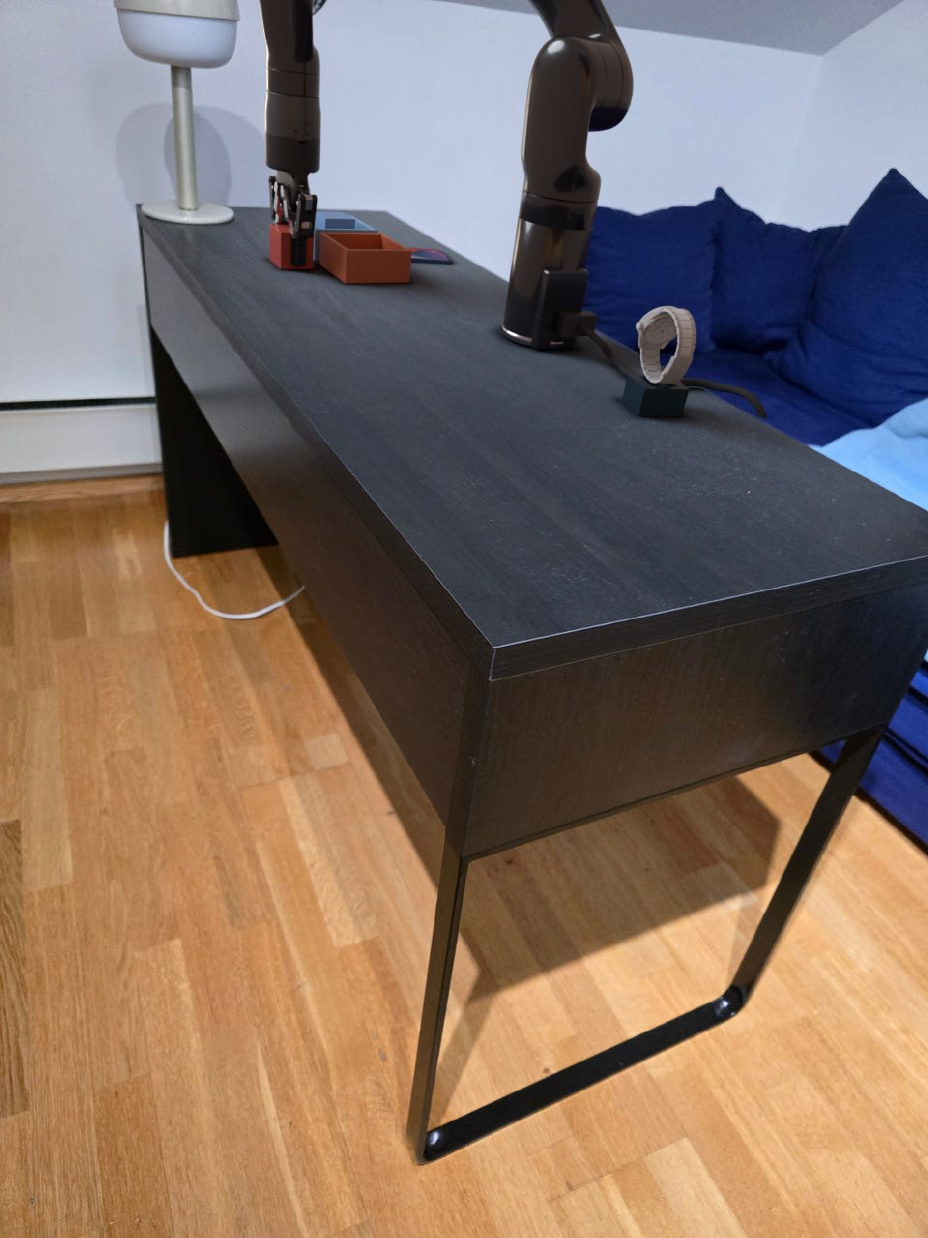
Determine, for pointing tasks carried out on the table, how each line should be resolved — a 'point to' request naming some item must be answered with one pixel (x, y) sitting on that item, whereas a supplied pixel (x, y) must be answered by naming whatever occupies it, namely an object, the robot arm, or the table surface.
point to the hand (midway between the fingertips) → (291, 260)
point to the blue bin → (359, 228)
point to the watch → (655, 387)
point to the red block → (287, 248)
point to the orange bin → (364, 258)
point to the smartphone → (428, 256)
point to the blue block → (334, 220)
